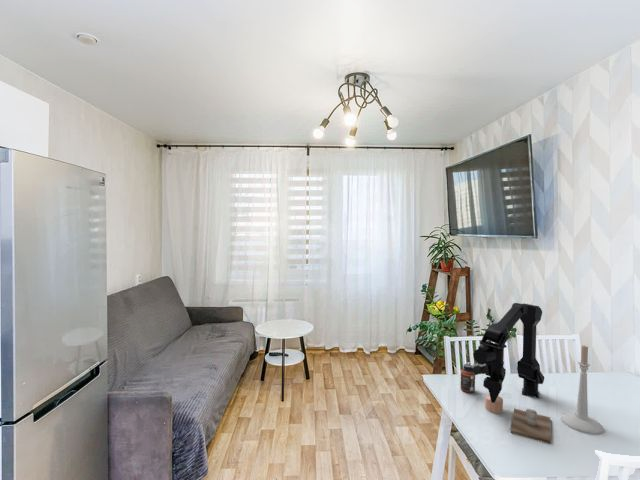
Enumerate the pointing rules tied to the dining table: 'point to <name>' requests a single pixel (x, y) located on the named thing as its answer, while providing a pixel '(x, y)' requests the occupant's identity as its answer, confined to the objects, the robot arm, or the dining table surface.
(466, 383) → the supplement bottle
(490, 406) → the cap
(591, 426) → the candlestick
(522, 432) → the post board
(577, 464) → the dining table surface
